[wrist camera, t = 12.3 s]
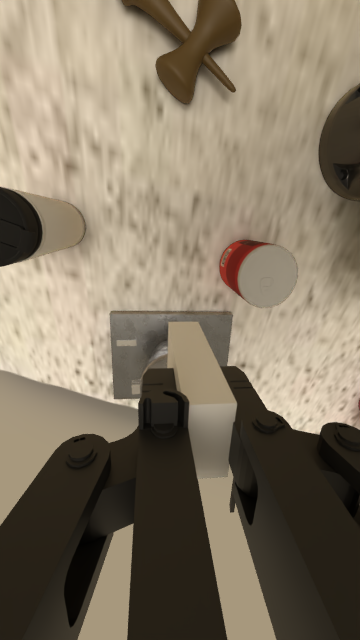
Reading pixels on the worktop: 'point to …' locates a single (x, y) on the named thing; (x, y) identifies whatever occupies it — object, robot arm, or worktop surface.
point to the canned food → (259, 272)
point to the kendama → (193, 42)
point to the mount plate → (157, 341)
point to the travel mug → (36, 226)
